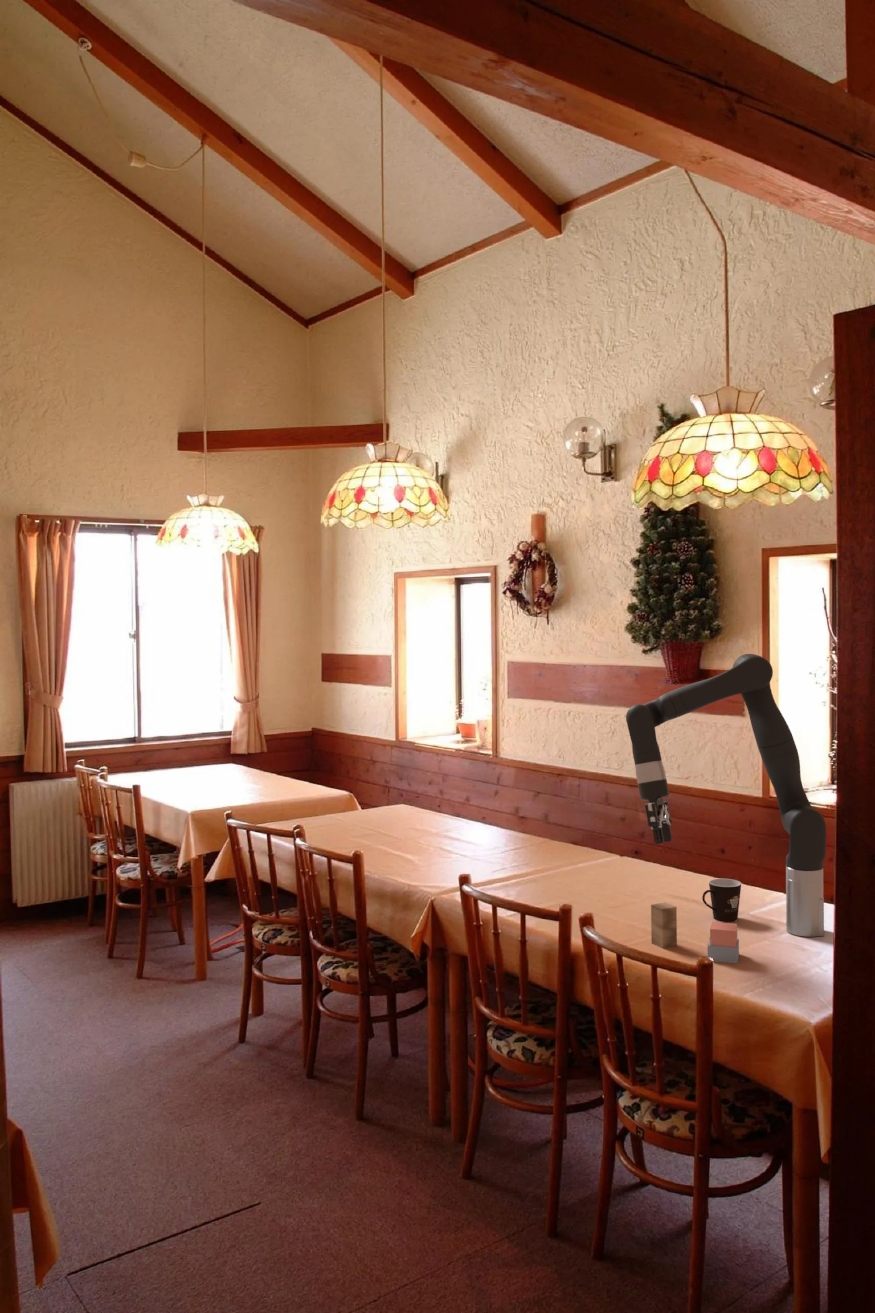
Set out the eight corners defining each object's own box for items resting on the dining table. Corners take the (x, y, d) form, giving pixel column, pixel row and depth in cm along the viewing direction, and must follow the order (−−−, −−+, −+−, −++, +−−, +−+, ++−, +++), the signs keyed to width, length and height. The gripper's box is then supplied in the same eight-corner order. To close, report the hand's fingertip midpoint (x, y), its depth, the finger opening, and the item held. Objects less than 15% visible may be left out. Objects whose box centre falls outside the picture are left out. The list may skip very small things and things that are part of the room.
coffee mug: (735, 913, 284) (735, 878, 284) (746, 922, 275) (745, 886, 275) (694, 914, 284) (694, 879, 283) (703, 924, 275) (703, 887, 275)
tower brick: (737, 940, 250) (737, 924, 250) (735, 947, 244) (735, 931, 244) (712, 937, 252) (711, 921, 252) (710, 945, 246) (710, 929, 246)
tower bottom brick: (739, 955, 250) (738, 939, 250) (737, 964, 244) (737, 948, 244) (709, 952, 253) (709, 936, 253) (707, 961, 246) (707, 945, 246)
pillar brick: (665, 940, 262) (665, 902, 262) (676, 945, 258) (676, 906, 258) (651, 943, 260) (651, 904, 260) (662, 948, 256) (662, 909, 256)
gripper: (658, 778, 257) (671, 842, 254) (672, 777, 270) (684, 838, 267) (630, 783, 260) (642, 846, 257) (645, 782, 273) (657, 842, 270)
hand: (664, 842), depth 262 cm, fingers open, 8 cm apart
